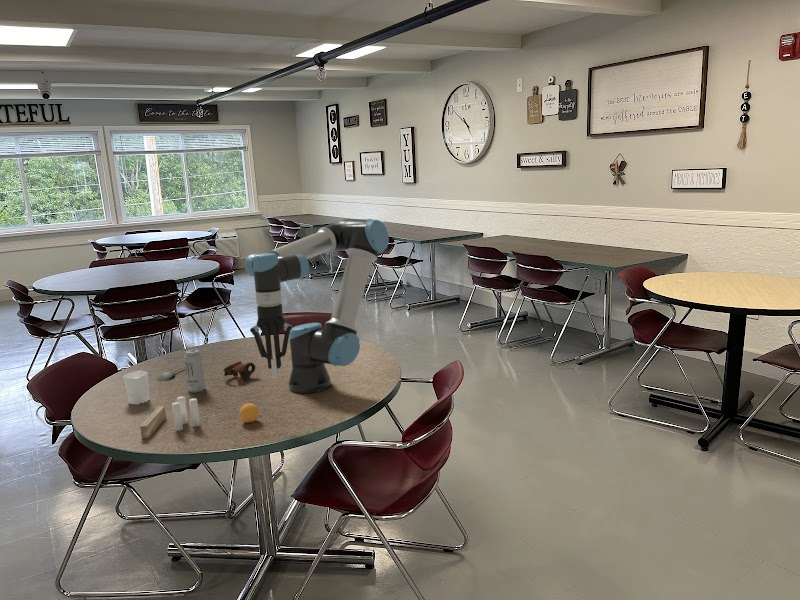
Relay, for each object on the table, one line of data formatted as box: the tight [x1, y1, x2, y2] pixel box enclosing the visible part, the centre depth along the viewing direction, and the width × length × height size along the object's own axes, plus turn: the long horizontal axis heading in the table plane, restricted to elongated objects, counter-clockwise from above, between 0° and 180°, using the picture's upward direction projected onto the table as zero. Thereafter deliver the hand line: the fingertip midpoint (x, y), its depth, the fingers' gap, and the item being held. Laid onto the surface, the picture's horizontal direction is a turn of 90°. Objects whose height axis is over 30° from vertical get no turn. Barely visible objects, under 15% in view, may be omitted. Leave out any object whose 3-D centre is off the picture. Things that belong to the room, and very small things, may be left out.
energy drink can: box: [183, 348, 206, 393], centre depth 221 cm, size 6×6×15 cm
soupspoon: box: [155, 365, 185, 382], centre depth 245 cm, size 22×3×7 cm
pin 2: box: [171, 401, 184, 432], centre depth 187 cm, size 2×2×8 cm
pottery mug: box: [223, 361, 257, 385], centre depth 233 cm, size 12×10×8 cm
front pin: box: [188, 397, 201, 428], centre depth 190 cm, size 2×2×8 cm
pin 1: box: [176, 396, 189, 425], centre depth 192 cm, size 2×2×8 cm
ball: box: [239, 402, 260, 424], centre depth 191 cm, size 6×6×6 cm
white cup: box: [123, 370, 150, 405], centre depth 213 cm, size 8×8×10 cm
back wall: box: [139, 405, 167, 439], centre depth 190 cm, size 2×16×4 cm, turn 3°
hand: (275, 377), depth 189 cm, fingers closed
